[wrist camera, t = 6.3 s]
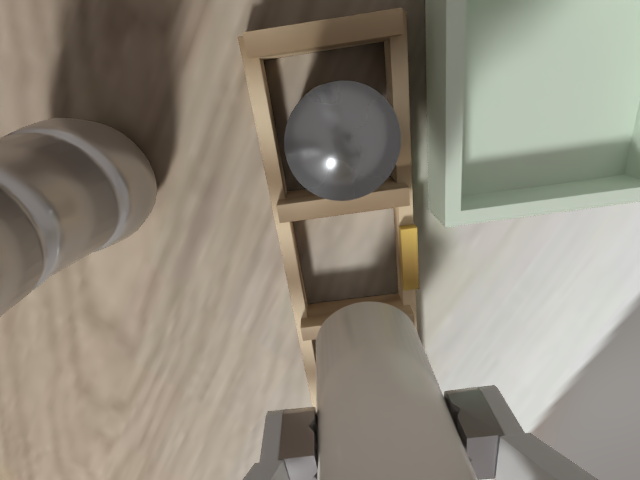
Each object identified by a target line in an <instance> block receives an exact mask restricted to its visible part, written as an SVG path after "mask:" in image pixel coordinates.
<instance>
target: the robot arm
mask: <svg viewBox="0 0 640 480" xmlns="http://www.w3.org/2000/svg"><path fill="white" fill-rule="evenodd" d="M444 399H445V401H446V404H447V406H448V409H449V411H450V414H451V416H452V418H453V421H454V423H455V426H456V428H457V431H458V433H459V435H460V438H461V440H462V443H463V445H464V448H465V450H466V452H467V455H468V457H469V460H470V462H471V465H472V467H473V470H474V472H475V474H476V477H477V479H478V480H481V479H494V478H495V480H598V479H597V478H595V477H594V476H592V475H591V474H589V473H588V472H587V471H585V470H584V469H582V468H581V467H579V466H578V465H576V464H575V463H573V462H572V461H570V460H569V459H568V458H566V457H565V456H563V455H562V454H560V453H559V452H557V451H556V450H554V449H553V448H552V447H550V446H549V445H547V444H546V443H544V442H543V441H541V440H540V439H538V438H537V437H536V436H534V435H533V434H531V433H525V432H524V431H523V429H522V428H521V426H520V424H519V423H518V421H517V419H516V418H515V416H514V414H513V413H512V411H511V409H510V408H509V406H508V404H507V403H506V401H505V399H504V398H503V396H502V394H501V393H500V391H499V390H498V388H497V387H496V386H495V385H492V386H484V387H473V388H465V389H457V390H450V391H445V392H444ZM317 470H318V466H317V412H316V408H315V407H308V408H296V409H285V410H276V411H268V413H267V415H266V419H265V427H264V434H263V441H262V448H261V455H260V463H255V464H254V465H253V466H252V468H251V469H250V470H249V472H248V473H247V474H246V476H245V477H244V479H243V480H318V479H317Z"/></svg>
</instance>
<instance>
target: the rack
mask: <svg viewBox="0 0 640 480" xmlns="http://www.w3.org/2000/svg"><path fill="white" fill-rule="evenodd" d="M242 34H243V36H239V37H238V40H239V45H240V50H241V55H242V60H243V65H244V70H245V75H246V80H247V85H248V90H249V95H250V100H251V105H252V110H253V115H254V120H255V124H256V129H257V134H258V139H259V144H260V149H261V154H262V159H263V164H264V169H265V174H266V179H267V184H268V189H269V194H270V199H271V204H272V209H273V214H274V218H275V223H276V228H277V233H278V238H279V243H280V248H281V253H282V258H283V263H284V268H285V273H286V278H287V283H288V288H289V293H290V298H291V303H292V307H293V312H294V317H295V322H296V327H297V332H298V337H299V342H300V347H301V352H302V357H303V362H304V367H305V372H306V377H307V382H308V387H309V392H310V397H311V401H312V406H313V407H315V408H316V412H317V402H316V348H315V343H314V340H315V339H316V338H317V334H318V331H319V329H320V327H321V326H322V324H323V323H324V322H325V320H326V319H327V318H328V317H329V316H330V315H332V314H333V313H334V312H336V311H337V310H339V309H341V308H343V307H345V306H348V305H351V304H354V303H359V302H381V303H385V304H389V305H392V306H394V307H396V308H398V309H400V310H401V311H402V312H404V313H405V314H406V315H407V316H408V317H409V318H410V319H411V321H412V322H413V324H414V326H415V328H416V331H417V314H416V289H419V274H418V239H417V227H416V225H415V224H413V195H412V165H411V135H410V106H409V76H408V46H407V17H406V10H404V11H403V7H400V8H393V9H387V10H381V11H374V12H368V13H362V14H356V15H349V16H343V17H337V18H330V19H324V20H318V21H311V22H305V23H299V24H292V25H286V26H280V27H273V28H267V29H261V30H254V31H248V32H242ZM378 42H384V48H385V66H386V84H387V101H388V102H389V103H390V105H391V106H392V108H393V110H394V111H395V113H396V116H397V118H398V121H399V125H400V129H401V148H400V154H399V157H398V160H397V163H396V165H395V167H394V169H393V171H392V177H388V178H387V180H386V181H385V182H384V183H383V184H382V185H381V186H379V187H378V188H377V189H376V190H374V191H373V192H371V193H370V194H368V195H365V196H363V197H361V198H358V199H354V200H349V201H334V200H328V199H325V198H322V197H319V196H317V195H315V194H313V193H311V192H310V191H308V190H307V189H302V190H295V191H288V192H287V188H286V183H285V177H284V172H283V166H282V160H281V155H280V149H279V144H278V138H277V133H276V127H275V122H274V116H273V111H272V105H271V100H270V94H269V89H268V83H267V78H266V72H265V67H264V61H263V60H268V59H274V58H281V57H287V56H294V55H300V54H307V53H313V52H320V51H326V50H333V49H339V48H345V47H352V46H358V45H365V44H371V43H378ZM389 208H394V224H395V242H396V259H397V277H398V293H394V294H386V295H378V296H370V297H362V298H354V299H346V300H338V301H330V302H322V303H314V304H307V299H306V293H305V288H304V282H303V277H302V271H301V265H300V260H299V254H298V249H297V243H296V238H295V232H294V227H293V221H300V220H307V219H315V218H322V217H329V216H337V215H344V214H352V213H359V212H366V211H374V210H381V209H389Z"/></svg>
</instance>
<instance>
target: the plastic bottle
mask: <svg viewBox="0 0 640 480" xmlns="http://www.w3.org/2000/svg"><path fill="white" fill-rule="evenodd" d="M156 195H157V184H156V179H155V175H154V172H153V169H152V167H151V165H150V163H149V161H148V159H147V158H146V156H145V155H144V153H143V152H142V151H141V150H140V149H139V147H138V146H137V145H136V144H135V143H134V142H133V141H132V140H130V139H129V138H128V137H127V136H125V135H124V134H123V133H121V132H119V131H117V130H116V129H114V128H112V127H110V126H107V125H104V124H102V123H99V122H93V121H88V120H81V119H73V118H52V119H48V120H44V121H40V122H37V123H34V124H31V125H28V126H25V127H22V128H20V129H18V130H16V131H14V132H12V133H10V134H8V135H6V136H4V137H1V138H0V316H2V315H3V314H4V313H5V312H7V311H8V310H9V309H10V308H12V307H13V306H14V305H15V304H17V303H18V302H19V301H20V300H22V299H23V298H24V297H25V296H27V295H28V294H29V293H30V292H31V291H32V290H34V289H35V288H36V287H38V286H39V285H40V284H42V283H43V282H44V281H45V280H46V279H48V278H49V277H50V276H52V275H54V274H55V273H57V272H59V271H61V270H62V269H64V268H66V267H68V266H70V265H71V264H73V263H75V262H77V261H78V260H80V259H82V258H84V257H85V256H87V255H89V254H91V253H92V252H95V251H98V250H101V249H104V248H106V247H109V246H111V245H113V244H115V243H117V242H119V241H121V240H123V239H125V238H127V237H129V236H131V235H132V234H133V233H135V232H136V231H137V230H138V229H139V228H140V227H141V225H142V224H143V223H144V222H145V220H146V219H147V217H148V216H149V214H150V213H151V211H152V209H153V206H154V204H155V200H156Z"/></svg>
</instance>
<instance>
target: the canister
mask: <svg viewBox="0 0 640 480" xmlns="http://www.w3.org/2000/svg"><path fill="white" fill-rule="evenodd" d="M400 148H401V129H400V125H399V121H398V118H397V116H396V113H395V111H394V110H393V108H392V106H391V105H390V103H389V102H388V101H387V100H386V99H385V98H384V97H383V96H382V95H381V94H380V93H379V92H378V91H376V90H375V89H373V88H371V87H369V86H368V85H365V84H362V83H359V82H354V81H334V82H329V83H324V84H321V85H318V86H316V87H314V88H313V89H311V90H310V91H309V92H308V93H307V94H306V95H305V96H304V97H303V98H302V99H301V100H300V101H299V103H298V104H297V105H296V106H295V108H294V110H293V111H292V113H291V115H290V117H289V120H288V122H287V126H286V129H285V136H284V149H285V155H286V159H287V162H288V165H289V168H290V170H291V171H292V173H293V175H294V176H295V178H296V179H297V180H298V182H299V183H300V184H301V185H302V186H303V187H305V188H306V189H307V190H308V191H310V192H311V193H313V194H315V195H317V196H319V197H322V198H325V199H328V200H334V201H349V200H354V199H358V198H361V197H363V196H365V195H368V194H370V193H371V192H373V191H374V190H376V189H377V188H378V187H379V186H381V185H382V184H383V183H384V182H385V181H386V180H387V178H388V177H389V175H390V174H391V173H392V171H393V169H394V167H395V165H396V163H397V160H398V157H399V154H400Z"/></svg>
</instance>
